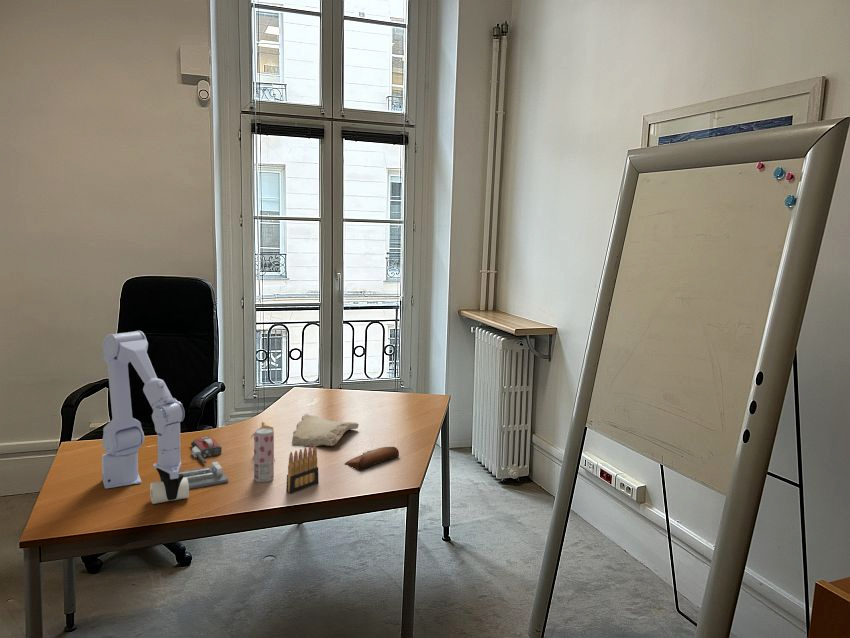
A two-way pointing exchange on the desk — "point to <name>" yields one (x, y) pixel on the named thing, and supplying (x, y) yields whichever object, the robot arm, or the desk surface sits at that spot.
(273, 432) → the figurine
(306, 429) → the flat sandstone slab
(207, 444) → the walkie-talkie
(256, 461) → the beverage can
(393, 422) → the desk surface
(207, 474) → the roll cradle
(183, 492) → the paper roll
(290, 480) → the ammunition clip
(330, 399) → the desk surface
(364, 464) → the sunglasses case
